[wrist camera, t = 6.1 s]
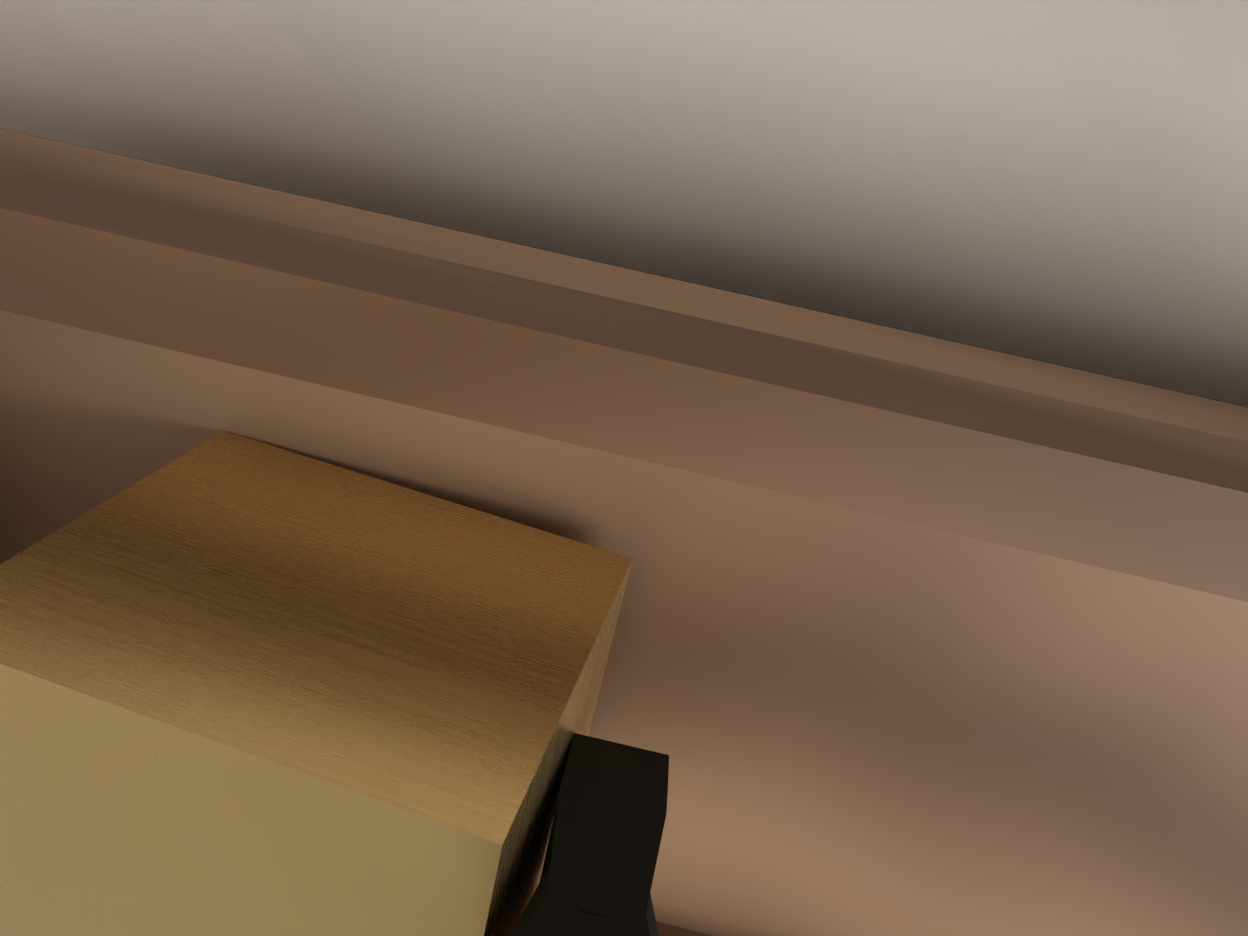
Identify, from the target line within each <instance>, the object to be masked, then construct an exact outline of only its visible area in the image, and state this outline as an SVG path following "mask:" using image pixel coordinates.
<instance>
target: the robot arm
mask: <svg viewBox="0 0 1248 936" xmlns="http://www.w3.org/2000/svg"><path fill="white" fill-rule="evenodd" d="M668 773H669V755H667V754H662V753H658V752H654V751H650V750H645V749H641V748H637V747H633V746H628V745H624V744H620V743H616V742H611V741H607V740H603V739H599V738H594V737H590V736H586V735H582V734H577V733H575V734H574V736H573V739H572V743H571V747H570V751H569V755H568V759H567V763H566V766H565V770H564V774H563V778H562V782H561V786H560V790H559V795H558V799H557V804H556V809H555V813H554V818H553V823H552V827H551V832H550V837H549V841H548V846H547V851H546V855H545V860H544V865H543V869H542V874H541V879H540V883H539V885H538V887H537V888H536V890H535V892H534V894H533V896H532V897H531V899H530V901H529V903H528V904H527V906H526V908H525V909H524V911H523V913H522V914H521V916H520V918H519V919H518V921H517V922H516V924H515V926H514V927H513V929H512V930H511V932H510V933H509V935H508V936H659V935H658V930H657V924H656V919H655V914H654V909H653V904H652V899H651V893H650V891H651V886H652V881H653V877H654V872H655V867H656V862H657V857H658V853H659V848H660V843H661V838H662V833H663V828H664V824H665V819H666V813H667V795H668Z"/></svg>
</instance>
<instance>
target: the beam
mask: <svg viewBox="0 0 1248 936" xmlns="http://www.w3.org/2000/svg"><path fill="white" fill-rule="evenodd" d="M223 431H227V432H230V433H233V434H237V435H240V436H243V437H246V438H249V439H253V440H256V441H259V442H262V443H265V444H269V445H272V446H275V447H278V448H281V449H284V450H288V451H291V452H294V453H297V454H300V455H304V456H307V457H310V458H313V459H316V460H320V461H323V462H326V463H329V464H332V465H335V466H339V467H342V468H345V469H348V470H351V471H355V472H358V473H361V474H364V475H367V476H371V477H374V478H377V479H380V480H383V481H386V482H390V483H393V484H396V485H399V486H402V487H406V488H409V489H412V490H415V491H418V492H422V493H425V494H428V495H431V496H434V497H437V498H441V499H444V500H447V501H450V502H453V503H457V504H460V505H463V506H466V507H469V508H473V509H476V510H479V511H482V512H485V513H488V514H492V515H495V516H498V517H501V518H504V519H508V520H511V521H514V522H517V523H520V524H524V525H527V526H530V527H533V528H536V529H539V530H543V531H546V532H549V533H552V534H555V535H559V536H562V537H565V538H568V539H571V540H575V541H578V542H581V543H584V544H587V545H590V546H594V547H597V548H600V549H603V550H606V551H610V552H613V553H616V554H619V555H622V556H626V557H629V558H632V559H633V560H632V564H631V568H630V572H629V576H628V580H627V584H626V588H625V592H624V596H623V600H622V604H621V608H620V612H619V616H618V620H617V623H616V627H615V631H614V635H613V639H612V643H611V647H610V651H609V655H608V659H607V663H606V667H605V671H604V675H603V679H602V683H601V687H600V691H599V695H598V699H597V703H596V707H595V711H594V715H593V719H592V723H591V727H590V731H589V735H588V736H590V737H594V738H599V739H603V740H607V741H611V742H616V743H620V744H624V745H628V746H633V747H637V748H641V749H645V750H650V751H654V752H658V753H662V754H667V755H669V773H668V795H667V813H666V819H665V824H664V828H663V833H662V838H661V843H660V848H659V853H658V857H657V862H656V867H655V872H654V877H653V881H652V886H651V891H650V893H651V899H652V904H653V909H654V914H655V919H656V924H657V930H658V935H659V936H1248V408H1247V407H1243V406H1238V405H1234V404H1229V403H1225V402H1221V401H1216V400H1212V399H1207V398H1203V397H1198V396H1194V395H1189V394H1185V393H1180V392H1176V391H1171V390H1167V389H1162V388H1158V387H1153V386H1149V385H1145V384H1140V383H1136V382H1131V381H1127V380H1122V379H1118V378H1113V377H1109V376H1104V375H1100V374H1095V373H1091V372H1086V371H1082V370H1078V369H1073V368H1069V367H1064V366H1060V365H1055V364H1051V363H1046V362H1042V361H1037V360H1033V359H1028V358H1024V357H1019V356H1015V355H1010V354H1006V353H1002V352H997V351H993V350H988V349H984V348H979V347H975V346H970V345H966V344H961V343H957V342H952V341H948V340H943V339H939V338H935V337H930V336H926V335H921V334H917V333H912V332H908V331H903V330H899V329H894V328H890V327H885V326H881V325H876V324H872V323H867V322H863V321H859V320H854V319H850V318H845V317H841V316H836V315H832V314H827V313H823V312H818V311H814V310H809V309H805V308H800V307H796V306H792V305H787V304H783V303H778V302H774V301H769V300H765V299H760V298H756V297H751V296H747V295H742V294H738V293H733V292H729V291H724V290H720V289H716V288H711V287H707V286H702V285H698V284H693V283H689V282H684V281H680V280H675V279H671V278H666V277H662V276H657V275H653V274H649V273H644V272H640V271H635V270H631V269H626V268H622V267H617V266H613V265H608V264H604V263H599V262H595V261H590V260H586V259H581V258H577V257H573V256H568V255H564V254H559V253H555V252H550V251H546V250H541V249H537V248H532V247H528V246H523V245H519V244H514V243H510V242H506V241H501V240H497V239H492V238H488V237H483V236H479V235H474V234H470V233H465V232H461V231H456V230H452V229H447V228H443V227H438V226H434V225H430V224H425V223H421V222H416V221H412V220H407V219H403V218H398V217H394V216H389V215H385V214H380V213H376V212H371V211H367V210H363V209H358V208H354V207H349V206H345V205H340V204H336V203H331V202H327V201H322V200H318V199H313V198H309V197H304V196H300V195H295V194H291V193H287V192H282V191H278V190H273V189H269V188H264V187H260V186H255V185H251V184H246V183H242V182H237V181H233V180H228V179H224V178H219V177H215V176H211V175H206V174H202V173H197V172H193V171H188V170H184V169H179V168H175V167H170V166H166V165H161V164H157V163H152V162H148V161H144V160H139V159H135V158H130V157H126V156H121V155H117V154H112V153H108V152H103V151H99V150H94V149H90V148H85V147H81V146H76V145H72V144H68V143H63V142H59V141H54V140H50V139H45V138H41V137H36V136H32V135H27V134H23V133H18V132H14V131H9V130H5V129H1V128H0V564H2V563H4V562H5V561H7V560H9V559H10V558H12V557H14V556H15V555H17V554H19V553H20V552H22V551H24V550H25V549H27V548H29V547H30V546H32V545H34V544H35V543H37V542H39V541H40V540H42V539H44V538H45V537H47V536H49V535H51V534H52V533H54V532H56V531H57V530H59V529H61V528H62V527H64V526H66V525H67V524H69V523H71V522H72V521H74V520H76V519H77V518H79V517H81V516H82V515H84V514H86V513H87V512H89V511H91V510H92V509H94V508H96V507H97V506H99V505H101V504H102V503H104V502H106V501H107V500H109V499H111V498H112V497H114V496H116V495H117V494H119V493H121V492H122V491H124V490H126V489H127V488H129V487H131V486H132V485H134V484H136V483H137V482H139V481H141V480H142V479H144V478H146V477H147V476H149V475H151V474H152V473H154V472H156V471H157V470H159V469H161V468H162V467H164V466H166V465H167V464H169V463H171V462H172V461H174V460H176V459H178V458H179V457H181V456H183V455H184V454H186V453H188V452H189V451H191V450H193V449H194V448H196V447H198V446H199V445H201V444H203V443H204V442H206V441H208V440H209V439H211V438H213V437H214V436H216V435H218V434H219V433H221V432H223Z"/></svg>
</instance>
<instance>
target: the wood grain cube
mask: <svg viewBox="0 0 1248 936" xmlns="http://www.w3.org/2000/svg"><path fill="white" fill-rule="evenodd" d="M632 560H633V559H632V558H629V557H626V556H622V555H619V554H616V553H613V552H610V551H606V550H603V549H600V548H597V547H594V546H590V545H587V544H584V543H581V542H578V541H575V540H571V539H568V538H565V537H562V536H559V535H555V534H552V533H549V532H546V531H543V530H539V529H536V528H533V527H530V526H527V525H524V524H520V523H517V522H514V521H511V520H508V519H504V518H501V517H498V516H495V515H492V514H488V513H485V512H482V511H479V510H476V509H473V508H469V507H466V506H463V505H460V504H457V503H453V502H450V501H447V500H444V499H441V498H437V497H434V496H431V495H428V494H425V493H422V492H418V491H415V490H412V489H409V488H406V487H402V486H399V485H396V484H393V483H390V482H386V481H383V480H380V479H377V478H374V477H371V476H367V475H364V474H361V473H358V472H355V471H351V470H348V469H345V468H342V467H339V466H335V465H332V464H329V463H326V462H323V461H320V460H316V459H313V458H310V457H307V456H304V455H300V454H297V453H294V452H291V451H288V450H284V449H281V448H278V447H275V446H272V445H269V444H265V443H262V442H259V441H256V440H253V439H249V438H246V437H243V436H240V435H237V434H233V433H230V432H227V431H223V432H221V433H219V434H218V435H216V436H214V437H213V438H211V439H209V440H208V441H206V442H204V443H203V444H201V445H199V446H198V447H196V448H194V449H193V450H191V451H189V452H188V453H186V454H184V455H183V456H181V457H179V458H178V459H176V460H174V461H172V462H171V463H169V464H167V465H166V466H164V467H162V468H161V469H159V470H157V471H156V472H154V473H152V474H151V475H149V476H147V477H146V478H144V479H142V480H141V481H139V482H137V483H136V484H134V485H132V486H131V487H129V488H127V489H126V490H124V491H122V492H121V493H119V494H117V495H116V496H114V497H112V498H111V499H109V500H107V501H106V502H104V503H102V504H101V505H99V506H97V507H96V508H94V509H92V510H91V511H89V512H87V513H86V514H84V515H82V516H81V517H79V518H77V519H76V520H74V521H72V522H71V523H69V524H67V525H66V526H64V527H62V528H61V529H59V530H57V531H56V532H54V533H52V534H51V535H49V536H47V537H45V538H44V539H42V540H40V541H39V542H37V543H35V544H34V545H32V546H30V547H29V548H27V549H25V550H24V551H22V552H20V553H19V554H17V555H15V556H14V557H12V558H10V559H9V560H7V561H5V562H4V563H2V564H0V936H508V935H509V933H510V932H511V930H512V929H513V927H514V926H515V924H516V922H517V921H518V919H519V918H520V916H521V914H522V913H523V911H524V909H525V908H526V906H527V904H528V903H529V901H530V899H531V897H532V896H533V894H534V892H535V890H536V888H537V887H538V885H539V883H540V879H541V874H542V869H543V865H544V860H545V855H546V851H547V846H548V841H549V837H550V832H551V827H552V823H553V818H554V813H555V809H556V804H557V799H558V795H559V790H560V786H561V782H562V778H563V774H564V770H565V766H566V763H567V759H568V755H569V751H570V747H571V743H572V739H573V736H574V734H575V733H577V734H582V735H586V736H588V735H589V731H590V727H591V723H592V719H593V715H594V711H595V707H596V703H597V699H598V695H599V691H600V687H601V683H602V679H603V675H604V671H605V667H606V663H607V659H608V655H609V651H610V647H611V643H612V639H613V635H614V631H615V627H616V623H617V620H618V616H619V612H620V608H621V604H622V600H623V596H624V592H625V588H626V584H627V580H628V576H629V572H630V568H631V564H632Z"/></svg>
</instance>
